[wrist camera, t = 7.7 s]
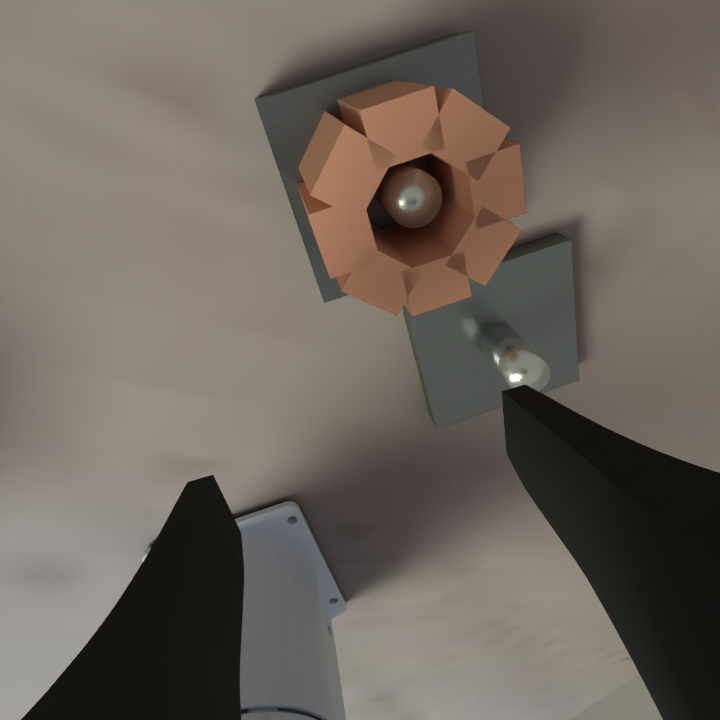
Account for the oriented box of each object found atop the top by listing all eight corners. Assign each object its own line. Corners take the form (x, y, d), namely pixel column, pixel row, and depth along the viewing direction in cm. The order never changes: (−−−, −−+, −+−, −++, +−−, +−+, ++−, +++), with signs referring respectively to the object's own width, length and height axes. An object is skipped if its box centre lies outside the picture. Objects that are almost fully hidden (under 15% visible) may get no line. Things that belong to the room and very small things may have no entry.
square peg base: (485, 232, 21) (539, 271, 17) (319, 287, 21) (335, 339, 17) (457, 33, 17) (516, 25, 13) (255, 98, 17) (256, 109, 13)
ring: (415, 291, 20) (448, 339, 16) (272, 222, 18) (277, 261, 14) (504, 145, 18) (565, 165, 14) (355, 45, 16) (385, 41, 12)
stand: (567, 369, 25) (617, 418, 22) (430, 416, 25) (458, 472, 22) (558, 232, 21) (617, 265, 18) (397, 286, 21) (425, 329, 18)
